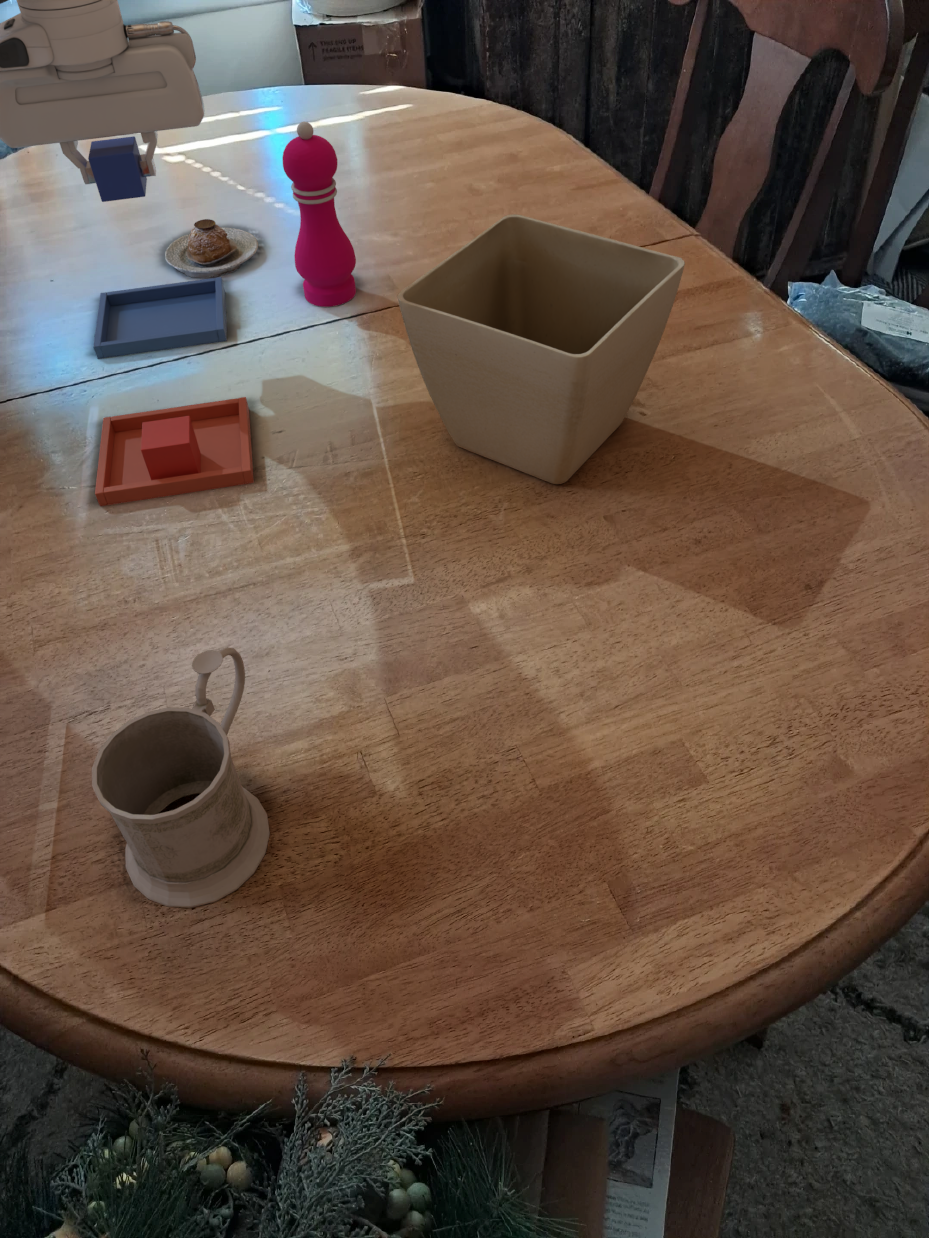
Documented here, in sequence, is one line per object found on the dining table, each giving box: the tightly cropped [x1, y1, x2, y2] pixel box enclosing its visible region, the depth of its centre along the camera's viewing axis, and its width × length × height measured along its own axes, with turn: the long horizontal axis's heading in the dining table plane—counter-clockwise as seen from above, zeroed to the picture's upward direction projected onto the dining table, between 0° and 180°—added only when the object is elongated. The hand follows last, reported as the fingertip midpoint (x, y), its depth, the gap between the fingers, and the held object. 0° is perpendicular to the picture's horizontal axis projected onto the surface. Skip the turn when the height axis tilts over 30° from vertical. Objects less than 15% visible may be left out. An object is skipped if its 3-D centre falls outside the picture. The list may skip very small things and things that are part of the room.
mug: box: [91, 646, 271, 909], centre depth 66 cm, size 14×10×12 cm
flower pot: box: [396, 213, 686, 485], centre depth 93 cm, size 19×19×17 cm
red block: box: [141, 416, 201, 480], centre depth 95 cm, size 4×4×4 cm
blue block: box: [87, 135, 148, 203], centre depth 103 cm, size 4×4×4 cm
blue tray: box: [92, 276, 228, 360], centre depth 117 cm, size 15×13×2 cm
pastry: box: [164, 218, 259, 279], centre depth 127 cm, size 12×12×5 cm
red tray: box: [94, 396, 255, 507], centre depth 98 cm, size 15×13×2 cm
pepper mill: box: [282, 121, 357, 308], centre depth 113 cm, size 7×7×20 cm
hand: (120, 178), depth 104 cm, fingers closed on blue block, 4 cm apart
